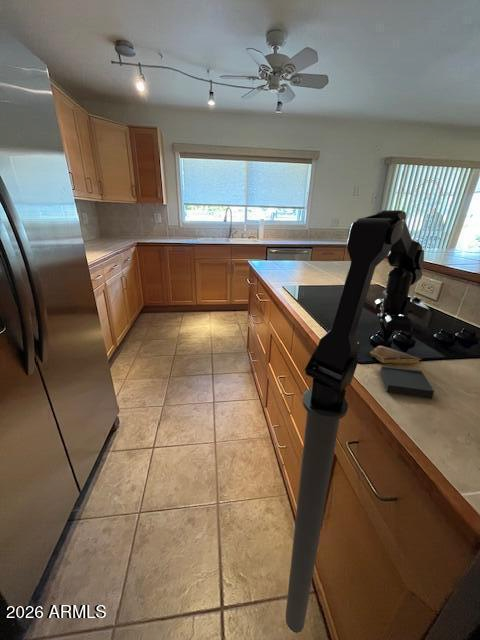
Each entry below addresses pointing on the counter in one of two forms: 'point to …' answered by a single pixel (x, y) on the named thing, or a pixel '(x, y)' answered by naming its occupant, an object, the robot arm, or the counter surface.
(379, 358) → the sandwich half
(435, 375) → the counter surface
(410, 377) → the black pad
